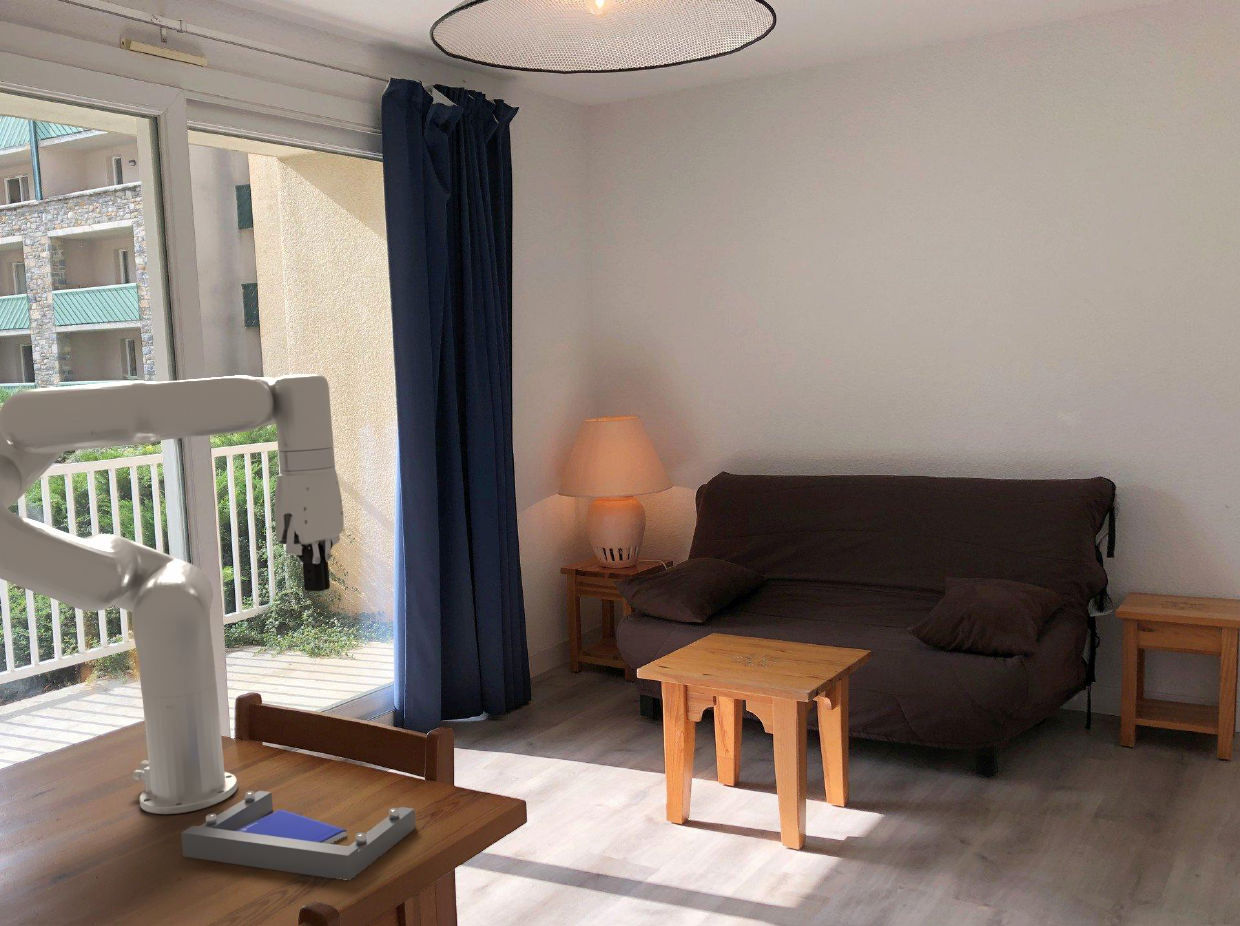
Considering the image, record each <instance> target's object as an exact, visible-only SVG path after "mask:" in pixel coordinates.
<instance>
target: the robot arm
mask: <svg viewBox="0 0 1240 926" xmlns="http://www.w3.org/2000/svg"><path fill="white" fill-rule="evenodd" d="M330 395H331V394H330V387H329V382H328V379H327V378H326V377H325V376H323V375H321V374H315V373H310V374H309V373H308V374H307V373H306V374H289V375H282V376H279V377H275V378H274V377H258V376H251V375H234V376H233V375H232V376H231V375H230V376H222V377H210V378H209V377H207V378H197V379H185V380H170V381H149V380H148V381H145V380H131V381H130V380H129V381H126V380H125V381H117V382H106V383H105V382H102V383H93V384H92V383H91V384H81V385H79V384H78V385H68V386H53V387H43V388H42V387H41V388H34V389H33V388H31V389H30V388H29V389H26V390H21V391H18V392H16V393H14V394H13V395H11V396H9V397H8V398H7V399H6V400H5V401H4V402H3V404H2V405H1V407H0V580H3V581H6V582H8V583H11V584H13V585H16V586H18V587H21V588H23V589H25V590H28V591H31V592H34V593H37V594H39V595H42V596H45V597H47V598H50V599H53V600H55V601H57V602H58V601H59V602H61V603H63V604H66V605H67V606H70V607H73V608H74V609H78V610H81V611H84V612H85V611H86V612H98V611H104V610H106V609H109V608H111V607H116V608H119V609H122V610H125V611H128V612H131V626H132V634H133V638H134V644H135V650H136V656H137V663H138V664H137V665H138V669H139V679H140V680H139V681H140V691H141V695H142V705H143V706H142V708H143V717H144V728H145V729H144V730H145V736H146V737H145V738H146V739H145V740H146V748H147V759H148V760H146V759H145V760H142V761H141V762H140V763H139V765H138V769H135V770H134V771H133V773H132V779H133V780H136V781H144V782H145V784H144V785H145V790H143V791H142V793H141V794H140V795H139V806H140V807H141V808H140V809H142V810H143V811H145V812H147V813H151V814H154V815H155V814H156V815H157V814H158V815H174V814H175V815H176V814H184V813H188V812H194V811H199V810H202V809H205V808H208V807H212V806H214V805H216V804H218V803H221V802H223V801H225V800H226V799H228V798H230V797H231V796H232V795H233V794H234V793H236V791H237V789H238V778H237V777H236V776H235V775H234V774H232V773H230V772H229V771H228V772H227V771H225V764H224V763H225V762H224V752H223V742H222V741H223V740H222V729H221V719H220V710H219V709H220V708H219V707H220V706H219V695H218V685H217V678H216V677H217V675H216V665H215V657H214V656H215V655H214V649H213V648H214V647H213V637H212V629H211V607H212V602H213V597H214V596H213V595H214V591H213V587H212V586H213V585H212V583H211V581H210V579H209V577H208V576H207V574H206V573H205V572H204V571H203V570H202V569H201V568H199V567H198V566H197V565H194V564H192V563H191V562H188V561H185V560H182V558H178V557H176V556H173V555H170V554H168V553H165V552H162V551H159V550H157V549H155V548H152V547H150V546H147V545H144V544H142V543H139V542H136V541H135V540H132V539H130V538H126V537H122V536H119V535H115V534H110V533H98V534H93V535H92V534H91V535H89V536H86V537H80V536H77V535H73V534H71V533H68V532H66V531H63V530H61V529H57V528H55V527H53V526H50V525H48V524H47V523H43V522H41V521H39V520H34V519H32V518H27V517H25V516H21V515H18V514H16V513H14V512H12V511H10V510H9V509H8V508H10V507H12V505H14V504H15V503H17V501H18V500H20V498H21V497H22V496H23V495H25V493H27V491H28V490H29V489H30V488H31V487H32V486H33V485H34V484H35V483H36V482H37V481H38V480H39V478H41V477H42V476H43V475H44V474H45V472H46V471H48V470H49V469H50V468H51V466H52V465H54V463H56V461H57V460H58V459H59V458H60V457H61V456H62V455H63V454H64V453H65V452H70V451H80V450H90V449H101V448H110V447H111V448H112V447H123V446H131V445H132V446H133V445H144V444H145V445H146V444H152V443H156V442H161V441H165V440H172V439H173V440H174V439H175V440H177V439H187V438H195V437H196V438H197V437H207V436H216V435H229V434H237V433H240V434H241V433H247V432H253V431H255V430H257V429H259V428H263V427H266V426H267V427H269V426H273V425H275V426H276V428H275V429H276V438H277V439H276V440H277V452H278V463H279V464H278V465H279V474H277V475H276V476H277V477H276V482H275V492H274V494H275V495H274V521H275V522H274V523H275V524H274V525H275V527H274V528H275V536H276V541H277V543H279V544H280V545H286V547H285V552H286V554H287V555H288V556H289V555H291V556H296V557H297V558H298V561H299V563H300V564H301V565H302V573H303V574H302V575H303V588H304V590H305V591H307V592H323V591H325V590H329V589H330V588H331V583H330V571H329V561H330V560H331V550H332V549H333V547H334V546H335V545H337V544H338V543H339V542H340V540H341V537H340V535H341V533H343V532H344V527H345V525H344V523H345V521H344V510H343V509H344V508H343V499H342V494H341V487H340V482H339V479H338V474H337V471H336V463H335V462H336V461H335V460H336V459H335V447H334V436H333V424H332V423H333V422H332V409H331V398H330Z"/></svg>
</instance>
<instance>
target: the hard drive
mask: <svg viewBox="0 0 1240 926" xmlns="http://www.w3.org/2000/svg"><path fill="white" fill-rule="evenodd" d="M235 831H237V832H245V833H252V834H260V835H267V836H275V837H282V838H290V839H297V840H305V841H312V842H320V843H327V844H331V843H332V844H334V843H335V842H334V841H336V842H337V840H338V841H339V839H340V840H342V839H344V838H345V837H347V836H348V835H347V829H345V828H341V827H338V826H335V825H332V824H329V823H326V822H322V821H320V820H316V819H314V818H313V819H312V818H310V817H306V816H303V815H301V814H297V813H294V812H291V811H287V810H285V809H279V810H277V811H275V812H272V813H270V814H267V815H265V816H263V817H261V818H260V819H258V820H256V821H255V822H253V823H250V824H248V825H246V826H244V827H242V828H240V829H237V830H235ZM343 837H344V838H343ZM341 838H342V839H341Z"/></svg>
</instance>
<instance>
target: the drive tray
mask: <svg viewBox="0 0 1240 926" xmlns="http://www.w3.org/2000/svg"><path fill="white" fill-rule="evenodd" d="M272 794H273V793H272V791H267V790H265V791H264V790H258V791H256V792H254V791H252V790H250V791H246V792H245V793H244V799H243V800H241V801H240V802H238V803H236V804H234V805H233V806H230V807H229V808H227V809H225V810H224V811H223V812H220V813H219V814H216V813H209V814H207V815H206V816H205V822H203V823H202V824H200V825H191V826H190V827H187V829H185V830H183V831H182V832H180V836H181V845H182V847H181V848H182V857H184V858H192V859H198V860H204V861H211V862H212V861H213V862H219V863H226V864H233V865H238V866H239V865H240V866H245V867H251V868H252V867H253V868H259V869H265V870H273V871H280V872H287V873H293V874H301V875H306V876H307V875H308V876H312V877H313V876H314V877H320V876H321V877H320V878H328V879H333V878H338V879H337V880H340V878H341V879H347V880H350V879H352V878H353V879H354V878H355V877H357V876H358V875H359V874H360V873H362V872H361V871H362V870H363V869H364V868H365V869H366V867H367V868H368V867H369V866H370V865H372V864H373V863H374V862H375V861H377V860H378V859H379V858H380V857H382V856H383V855H384V854H385V853H386V852H388V851H389V850H390V849H392V848H393V845H394V844H395V845H397V843H399V842H400V841H401V840H402V839H403V837H404V836H405V837H406V836H407V835H409V834H410V833H411V832H412V831H413V830H415V829H416V828H415V827H416V815H415V814H416V813H415V808H412V807H406V806H400V807H392V808H390V809H388V816H387V817H385V818H384V819H383V820H382V821H380V822H379V823H377V824H376V825H375V826H374V827H372V828H371V829H369V830H368V831H367V832H358V833H356V834H355V835H354V836H355V840H354V841H353V843H351V844H350V845H341V844H334V843H332V844H327V843H320V842H312V841H305V840H297V839H290V838H282V837H275V836H267V835H260V834H252V833H245V832H237V831H235V830H237V829H240V828H242V827H244V826H246V825H248V824H250V823H253V822H255V821H257V820H259V819H261V818H263V817H265V816H267V815H269V813H270V812H272V811H273V810H274V809H273V797H272V796H273V795H272ZM414 828H415V829H414ZM411 830H412V831H411ZM405 837H404V838H405ZM395 845H394V846H395ZM388 849H389V850H388ZM383 853H384V854H383ZM382 854H383V855H382ZM379 856H380V857H379ZM378 857H379V858H378ZM377 858H378V859H377ZM374 860H375V861H374ZM373 861H374V862H373ZM372 862H373V863H372ZM368 865H369V866H368ZM365 869H364V870H365ZM364 870H363V871H364ZM359 872H360V873H359ZM358 873H359V874H358ZM357 874H358V875H357ZM356 875H357V876H356ZM353 879H352V880H353ZM350 881H351V880H350Z"/></svg>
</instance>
